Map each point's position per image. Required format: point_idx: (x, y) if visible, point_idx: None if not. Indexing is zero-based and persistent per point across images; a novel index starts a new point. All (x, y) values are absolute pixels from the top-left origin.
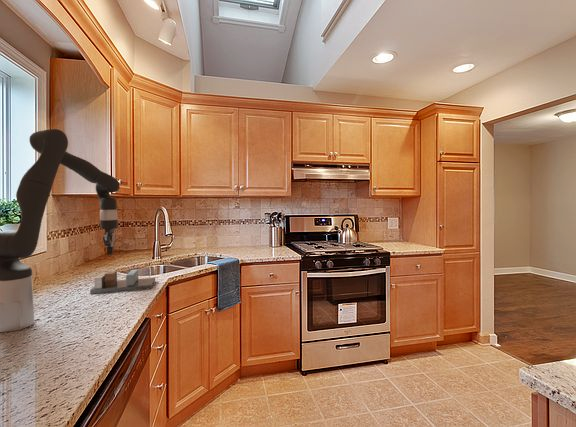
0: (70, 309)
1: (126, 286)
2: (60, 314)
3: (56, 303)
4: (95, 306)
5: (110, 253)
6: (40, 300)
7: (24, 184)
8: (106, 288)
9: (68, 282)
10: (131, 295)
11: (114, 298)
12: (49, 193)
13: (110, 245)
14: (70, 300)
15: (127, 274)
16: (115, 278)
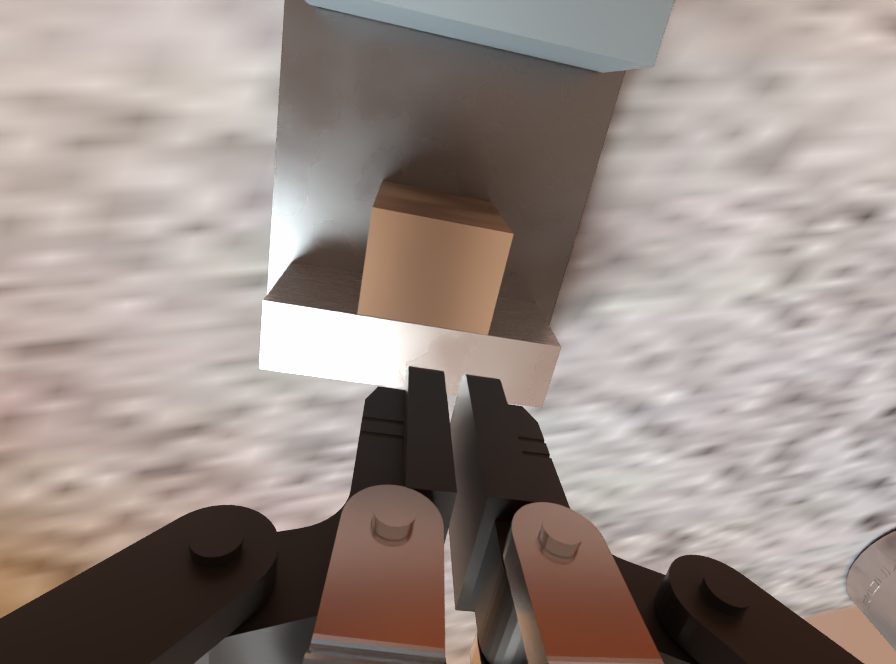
0: (817, 419)
1: (609, 72)
2: (874, 448)
3: (623, 509)
4: (876, 291)
5: (520, 416)
6: None
7: None
8: (567, 263)
9: (49, 556)
10: (786, 21)
11: (771, 175)
12: None
13: (752, 586)
14: (606, 454)
15: (601, 46)
16: (444, 204)
